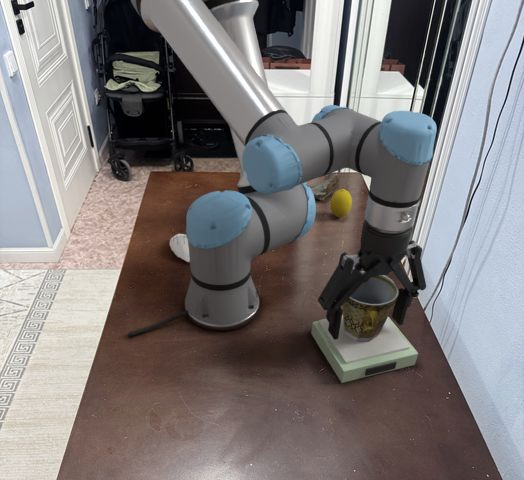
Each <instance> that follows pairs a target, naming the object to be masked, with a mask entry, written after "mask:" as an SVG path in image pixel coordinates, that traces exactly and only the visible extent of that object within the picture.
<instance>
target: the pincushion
mask: <svg viewBox="0 0 524 480" xmlns="http://www.w3.org/2000/svg"><path fill="white" fill-rule="evenodd" d="M171 233H172V234H173V235H172V237H171V238H170V239H169V247H170V249H171V251H172V252H173V253H174V255H175V256H176V257H177V258H180V259H181V260H184V261H185V262H187V263H190V257H189V248H188V239H187V236H186V233H185V234H184V233H181V230H179V233H177V234H175V231H174V230H171Z"/></svg>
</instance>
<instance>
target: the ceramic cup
mask: <svg viewBox="0 0 524 480" xmlns="http://www.w3.org/2000/svg"><path fill="white" fill-rule="evenodd" d="M361 272H362V274H363V275H364V274H365V271H364V270H361ZM399 289H400V288H399V286H398V285H397V283H396V282H395V281H394V280H392V278H391V277H389V276H387V275H379V276H377V277H371V278H370V279H369V280H368V281H367V282H366V283H362V284H361V285H360V287H359V288H358V289H357V290H356V291H355V292H354V293H353V294H352V295H351V296H350V297H349V299H348V300H347V301H346V302H345V303H344V304H343V305H342V310H343V313H342V315H343V324H344V331H345V334H346V335H347V336H349V337H350V338H352V339H353V340H355V341H358V342H370V341H371V340H373V339H374V338H375V337H377V336H378V335H379V334H380V332H381V330H382V328H383V326H384V324H385V322H386V320H387V318H388V317H389V315H390V314H391V312H392V310H393V309H394V306H395V302H396V300H397V297H398V294H399Z"/></svg>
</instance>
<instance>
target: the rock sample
mask: <svg viewBox="0 0 524 480" xmlns="http://www.w3.org/2000/svg"><path fill="white" fill-rule="evenodd" d="M340 182H341V178H340V176H339V175H338V173H334V175H333V176H332V177H330V178H328V179H327V180H325V181H321V182H319V183H317V184H314V185H311V186H310V188H311V190H312V192H313V195H314V198H315V200H319V201H323V200H324V199H325V198H327V197H328V196H330V195H331V194H332V193H333V192H336V191H337V190H338V189H339V187H340Z"/></svg>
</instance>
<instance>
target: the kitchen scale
mask: <svg viewBox="0 0 524 480" xmlns="http://www.w3.org/2000/svg"><path fill="white" fill-rule="evenodd" d="M328 327H329V322H328V320H327V319H326V318H322V319H318V320H315V321H312V323H311V330H310V334H311V336H312V337H313V339H314V340H315V343H316V344H317V346H318V347H319V349H320V351H321V352H322V353H323V356H324V357H325V359H326V360H327V362H328V363H329V365H330V366H331V368H332V370H333V372H334V373H335V375H336V376H337V378H338V380H339V381H340V383H341V384H344V383H348V382H351V381H355V380H360V379H364V378H367V377H371V376H376V375H381V374H384V373H388V372H391V371H396V370H399V369H400V370H401V369H404V368H408V367H411V366H415V365H416V362H417V359H418V356H419V352H418V351H417V350H416V349H415V347H414V346H413V344H411V342H410V341H409V340H408V338H407V337H406V336H405V335H404V334H403V333H402V331H401V330H400V329H399V328H398V327H397V325H396V324H395V323H394V321H393V320H392V319H391V318H390V317H389V316H388V318H387V320H386V322H385V324H384V326H383V328H382V330H381V332H380V334H379V335H378V336H377V337H375V338H374V339H373V340H371V341H370V342H358V341H355V340H353V339H352V338H350V337H349V336H347V335H346V334H345V331H344V324H343V314H342V319H341V325H340V331H339V336H338V339H336V340H334V339H333V337H332V336H331V334H330V333H329V331H328Z"/></svg>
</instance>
